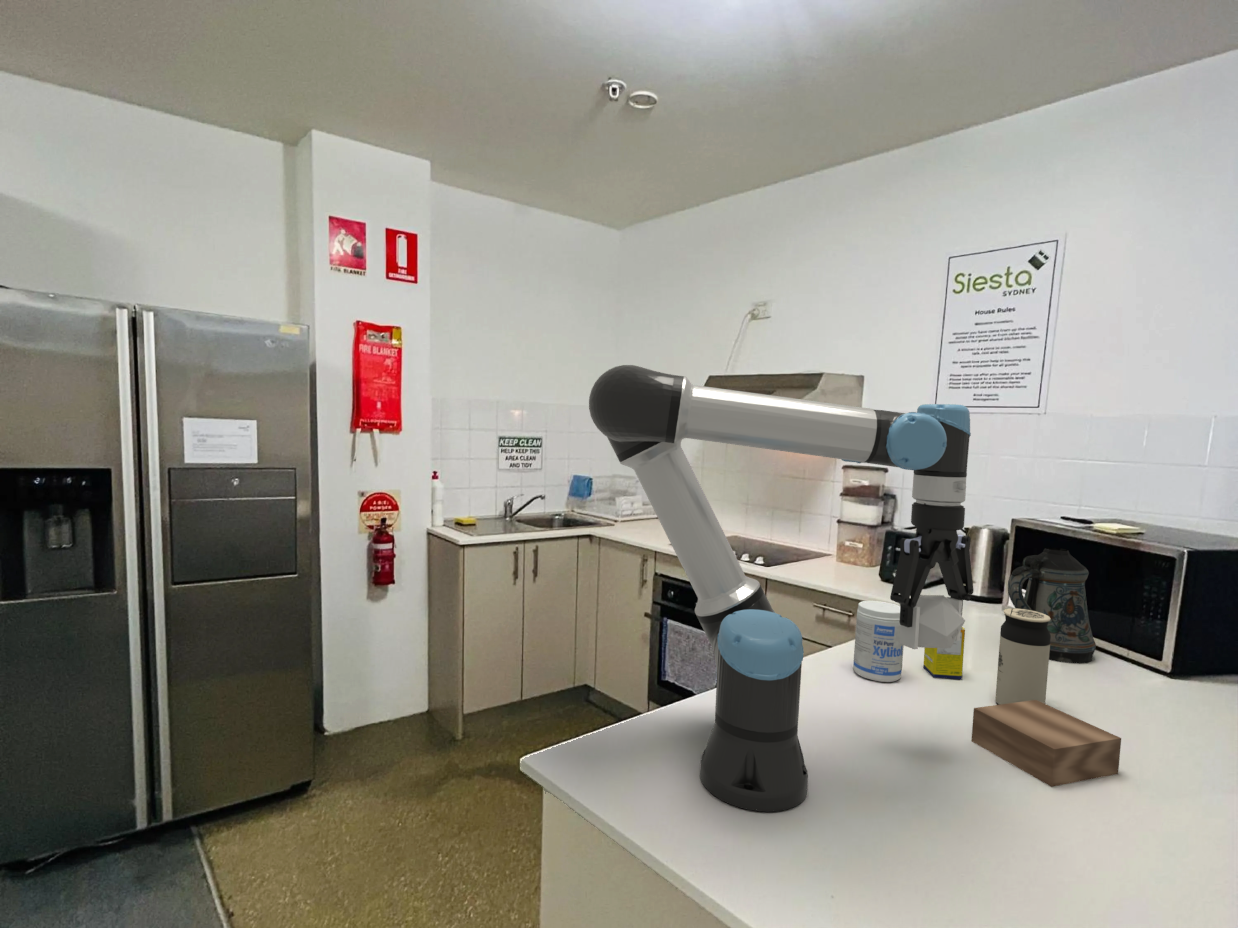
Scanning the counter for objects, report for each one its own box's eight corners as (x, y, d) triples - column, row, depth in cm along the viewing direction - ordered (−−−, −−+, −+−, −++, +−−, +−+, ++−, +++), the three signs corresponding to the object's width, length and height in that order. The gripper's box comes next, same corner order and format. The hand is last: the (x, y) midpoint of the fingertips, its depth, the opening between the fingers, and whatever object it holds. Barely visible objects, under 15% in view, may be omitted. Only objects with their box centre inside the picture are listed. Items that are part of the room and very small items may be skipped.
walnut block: (1051, 788, 94) (1054, 749, 93) (971, 742, 107) (973, 707, 106) (1117, 775, 98) (1121, 737, 98) (1033, 733, 111) (1035, 699, 111)
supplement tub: (876, 686, 129) (881, 614, 128) (842, 668, 137) (847, 601, 136) (912, 680, 132) (916, 610, 131) (877, 663, 141) (881, 598, 140)
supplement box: (950, 669, 139) (954, 620, 139) (962, 680, 134) (966, 628, 133) (922, 667, 140) (925, 618, 139) (932, 678, 134) (936, 626, 133)
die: (957, 662, 96) (982, 608, 98) (905, 630, 97) (931, 577, 100) (930, 663, 104) (954, 612, 106) (883, 633, 105) (908, 583, 107)
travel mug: (1048, 707, 121) (1055, 614, 120) (1039, 720, 116) (1047, 622, 115) (1000, 694, 127) (1007, 605, 126) (990, 705, 121) (997, 612, 120)
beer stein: (1106, 656, 152) (1115, 552, 150) (1071, 671, 141) (1080, 559, 140) (1030, 636, 166) (1037, 540, 164) (993, 648, 155) (1001, 546, 153)
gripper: (911, 507, 92) (902, 659, 93) (1004, 503, 102) (995, 640, 104) (869, 501, 99) (862, 643, 100) (961, 498, 109) (953, 626, 110)
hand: (930, 641), depth 102 cm, fingers closed on die, 9 cm apart
